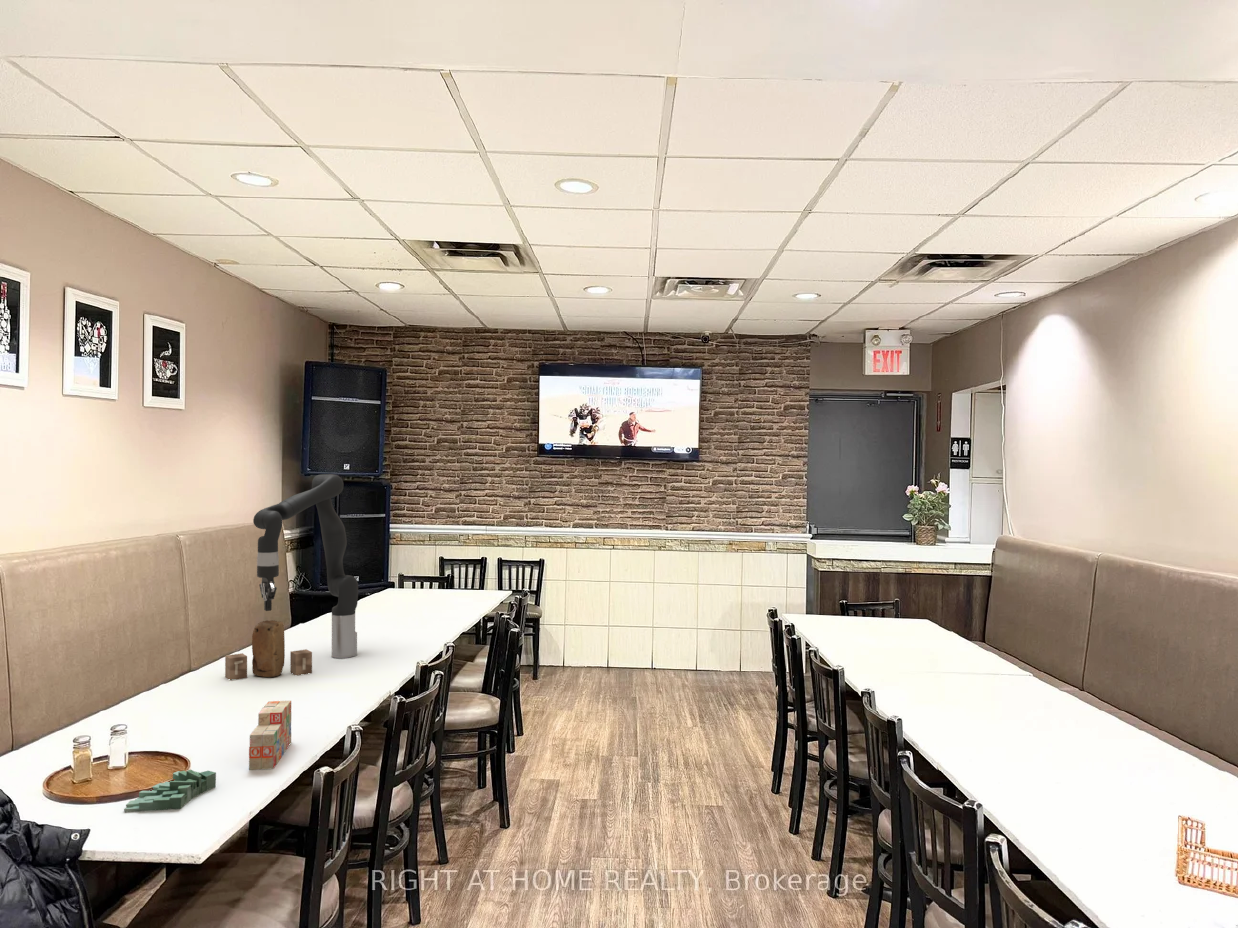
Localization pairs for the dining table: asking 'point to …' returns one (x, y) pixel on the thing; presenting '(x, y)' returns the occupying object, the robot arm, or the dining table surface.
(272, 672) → the block
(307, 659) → the walnut block one
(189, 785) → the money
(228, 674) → the brown letter block
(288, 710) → the stack of blocks
